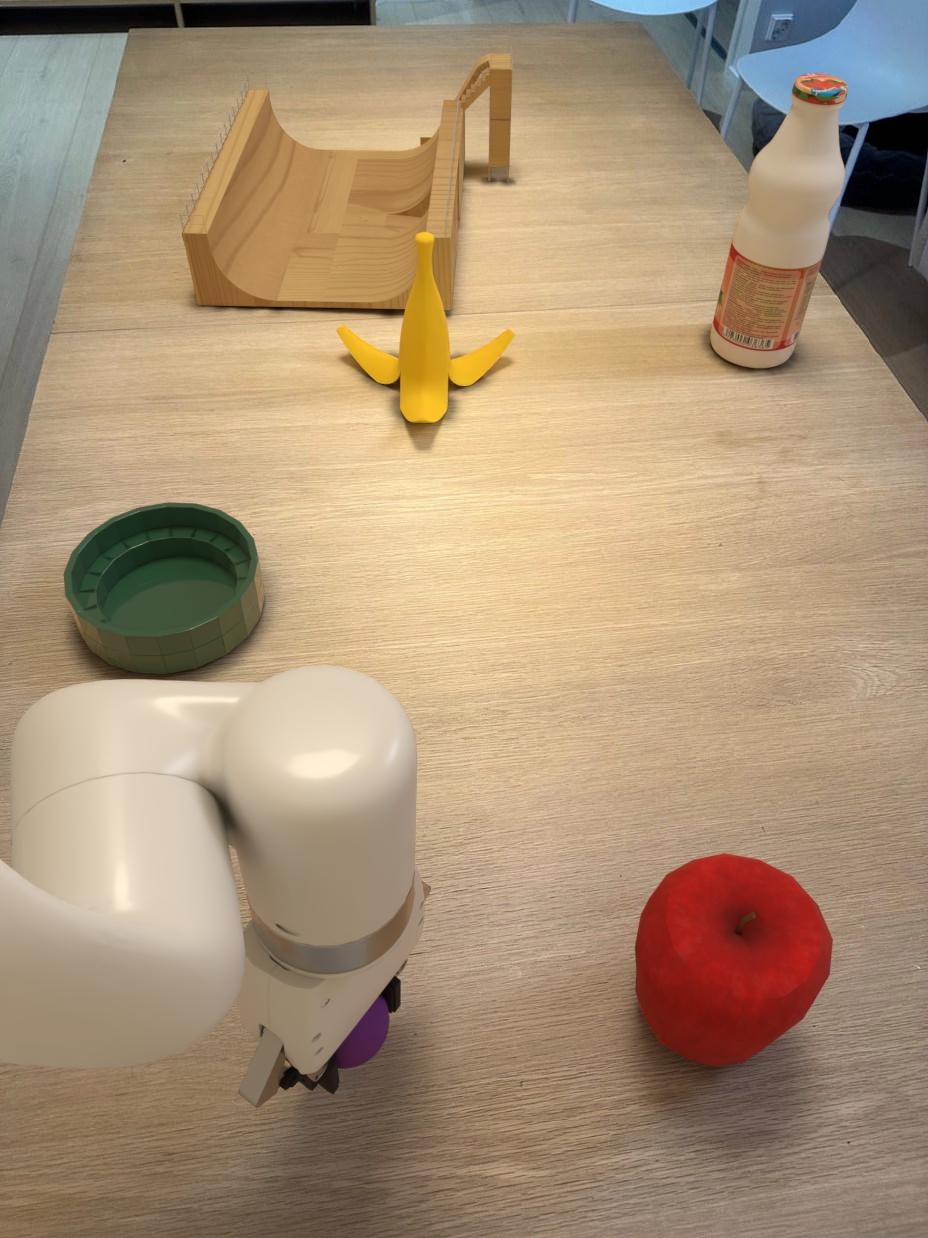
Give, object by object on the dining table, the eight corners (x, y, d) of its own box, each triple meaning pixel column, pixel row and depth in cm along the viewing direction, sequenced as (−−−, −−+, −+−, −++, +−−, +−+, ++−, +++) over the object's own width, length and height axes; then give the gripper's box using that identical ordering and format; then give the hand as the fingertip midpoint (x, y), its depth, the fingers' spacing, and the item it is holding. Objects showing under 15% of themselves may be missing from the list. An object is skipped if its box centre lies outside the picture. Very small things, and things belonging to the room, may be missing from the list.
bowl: (123, 707, 79) (108, 666, 75) (52, 588, 87) (36, 546, 83) (297, 625, 85) (291, 584, 81) (215, 522, 93) (207, 479, 89)
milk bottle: (732, 376, 111) (803, 107, 90) (694, 330, 116) (751, 67, 96) (809, 363, 113) (895, 97, 92) (767, 318, 119) (839, 58, 98)
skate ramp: (259, 159, 145) (240, 35, 133) (509, 163, 144) (513, 38, 132) (198, 312, 118) (168, 173, 106) (505, 317, 117) (510, 178, 105)
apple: (751, 921, 69) (807, 815, 58) (808, 1079, 62) (883, 990, 52) (598, 942, 67) (629, 837, 57) (640, 1106, 60) (683, 1020, 50)
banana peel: (339, 350, 112) (328, 201, 99) (512, 354, 112) (523, 207, 100) (325, 445, 101) (311, 292, 88) (517, 449, 101) (530, 297, 89)
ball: (331, 1099, 58) (327, 1069, 54) (288, 1025, 61) (281, 992, 57) (405, 1048, 60) (406, 1016, 56) (361, 979, 63) (359, 944, 59)
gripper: (382, 724, 53) (385, 892, 66) (132, 987, 43) (195, 1120, 56) (503, 799, 50) (481, 957, 63) (266, 1097, 40) (299, 1209, 54)
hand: (346, 1033), depth 60 cm, fingers closed on ball, 4 cm apart
